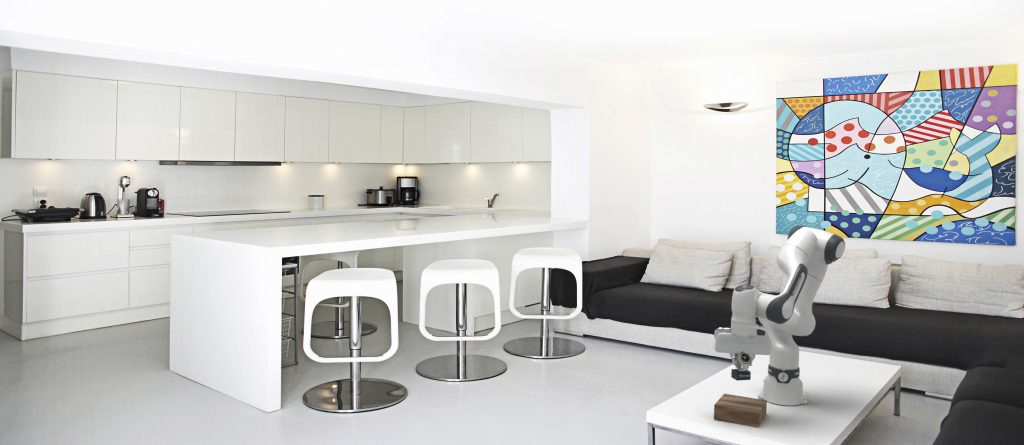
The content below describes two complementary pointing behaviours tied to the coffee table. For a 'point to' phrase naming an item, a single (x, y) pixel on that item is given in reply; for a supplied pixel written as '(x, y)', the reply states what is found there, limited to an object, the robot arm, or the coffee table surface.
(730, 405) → the walnut box
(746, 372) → the watch
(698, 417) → the coffee table surface
